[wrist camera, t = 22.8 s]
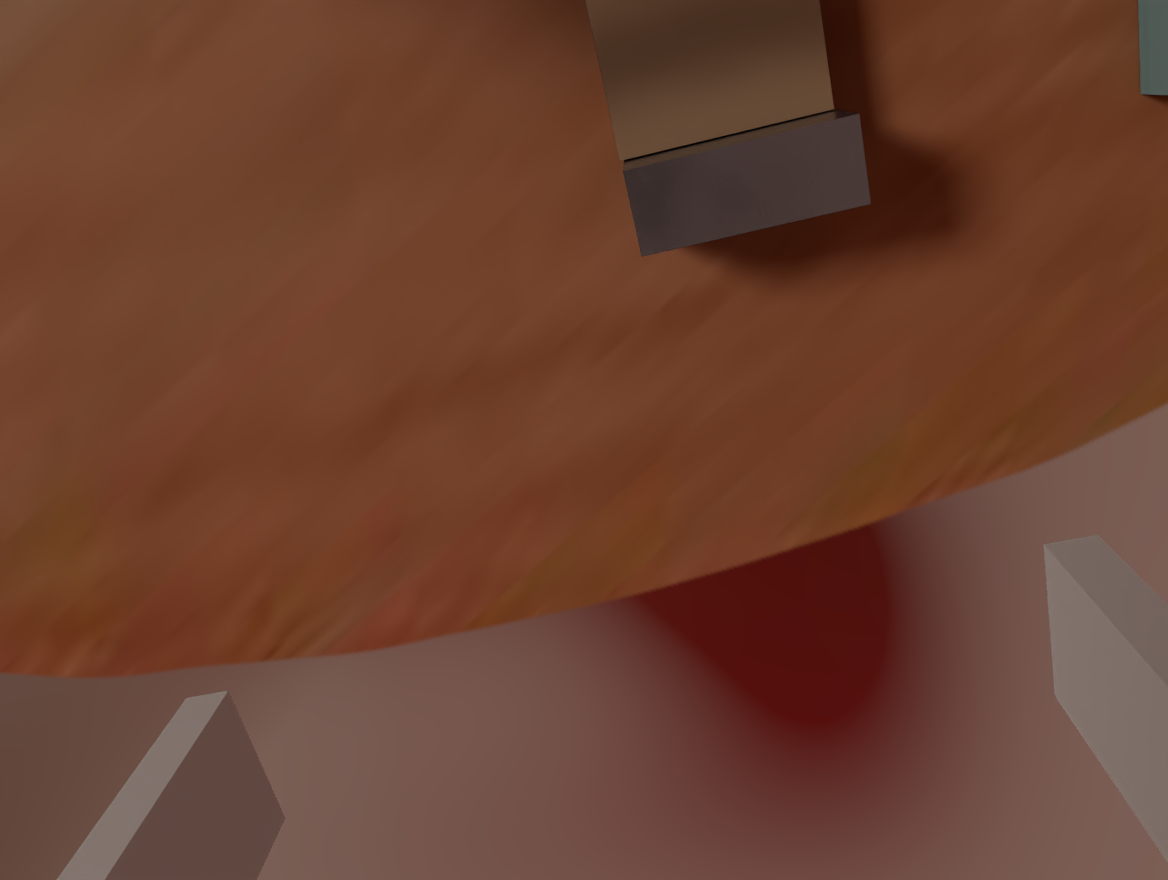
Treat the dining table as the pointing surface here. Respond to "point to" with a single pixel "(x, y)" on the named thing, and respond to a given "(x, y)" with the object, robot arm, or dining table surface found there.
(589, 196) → the dining table surface
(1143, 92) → the tray
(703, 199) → the block
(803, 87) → the tan square block
